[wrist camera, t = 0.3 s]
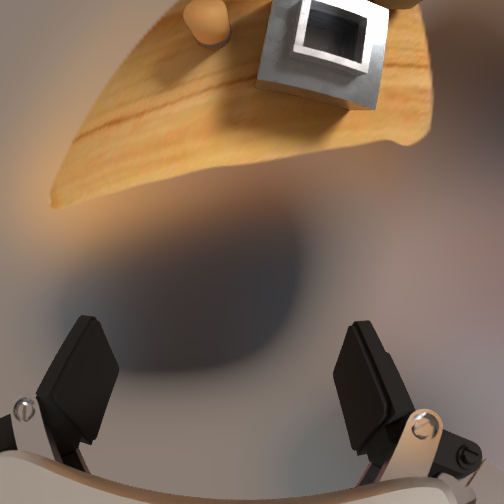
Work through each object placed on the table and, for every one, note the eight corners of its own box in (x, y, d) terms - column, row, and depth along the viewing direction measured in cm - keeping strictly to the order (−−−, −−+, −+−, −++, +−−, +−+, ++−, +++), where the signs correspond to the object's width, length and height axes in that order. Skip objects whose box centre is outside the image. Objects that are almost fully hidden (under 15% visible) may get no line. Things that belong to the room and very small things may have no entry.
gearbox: (272, 0, 24) (281, -35, 15) (363, 26, 26) (398, 4, 16) (254, 87, 31) (258, 75, 21) (349, 110, 32) (385, 110, 22)
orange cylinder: (200, 20, 26) (187, -5, 18) (234, 23, 26) (230, -3, 18) (193, 48, 28) (178, 29, 20) (228, 51, 28) (222, 31, 20)
